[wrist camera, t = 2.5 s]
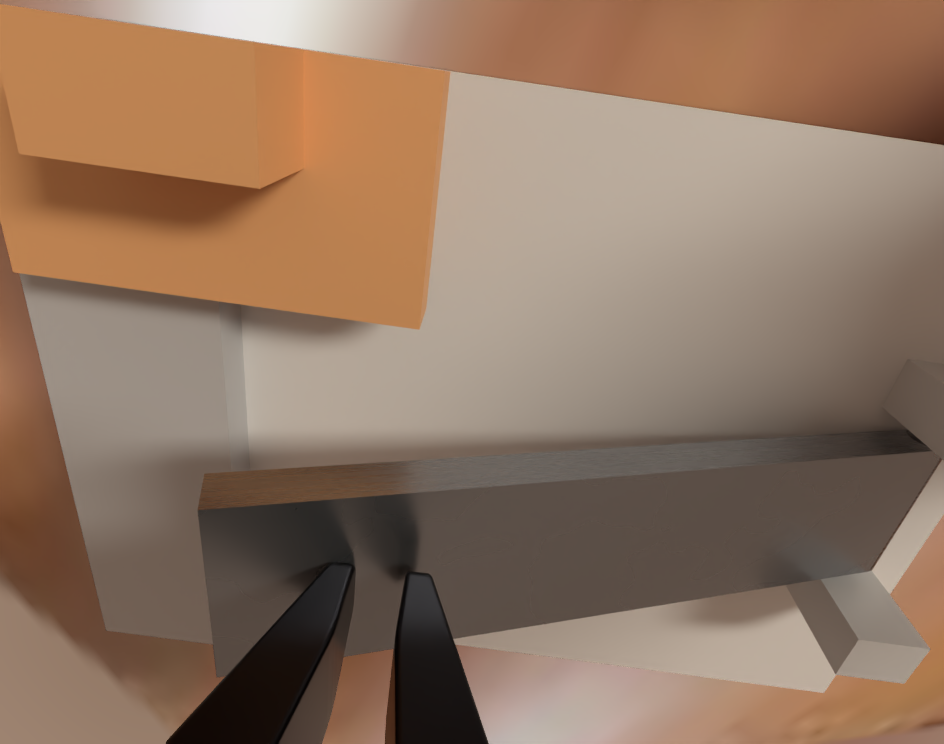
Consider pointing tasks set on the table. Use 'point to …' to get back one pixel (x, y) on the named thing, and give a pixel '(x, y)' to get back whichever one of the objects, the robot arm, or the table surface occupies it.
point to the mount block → (551, 359)
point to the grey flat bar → (552, 530)
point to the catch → (218, 167)
